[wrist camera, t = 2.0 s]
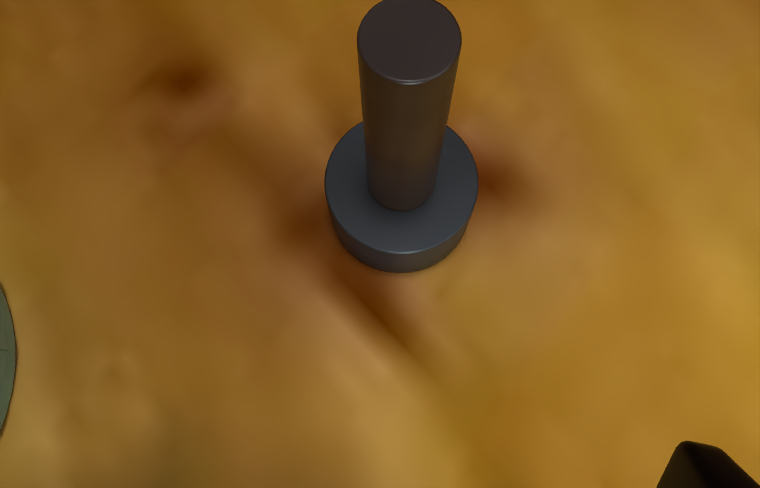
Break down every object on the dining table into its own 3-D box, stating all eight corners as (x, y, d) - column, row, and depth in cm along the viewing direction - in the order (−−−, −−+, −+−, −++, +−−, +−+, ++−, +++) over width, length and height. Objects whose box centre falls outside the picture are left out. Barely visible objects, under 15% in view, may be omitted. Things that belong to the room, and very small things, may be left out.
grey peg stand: (492, 243, 22) (570, 96, 13) (359, 294, 22) (338, 180, 12) (437, 124, 24) (470, -88, 14) (311, 169, 23) (258, -19, 14)
